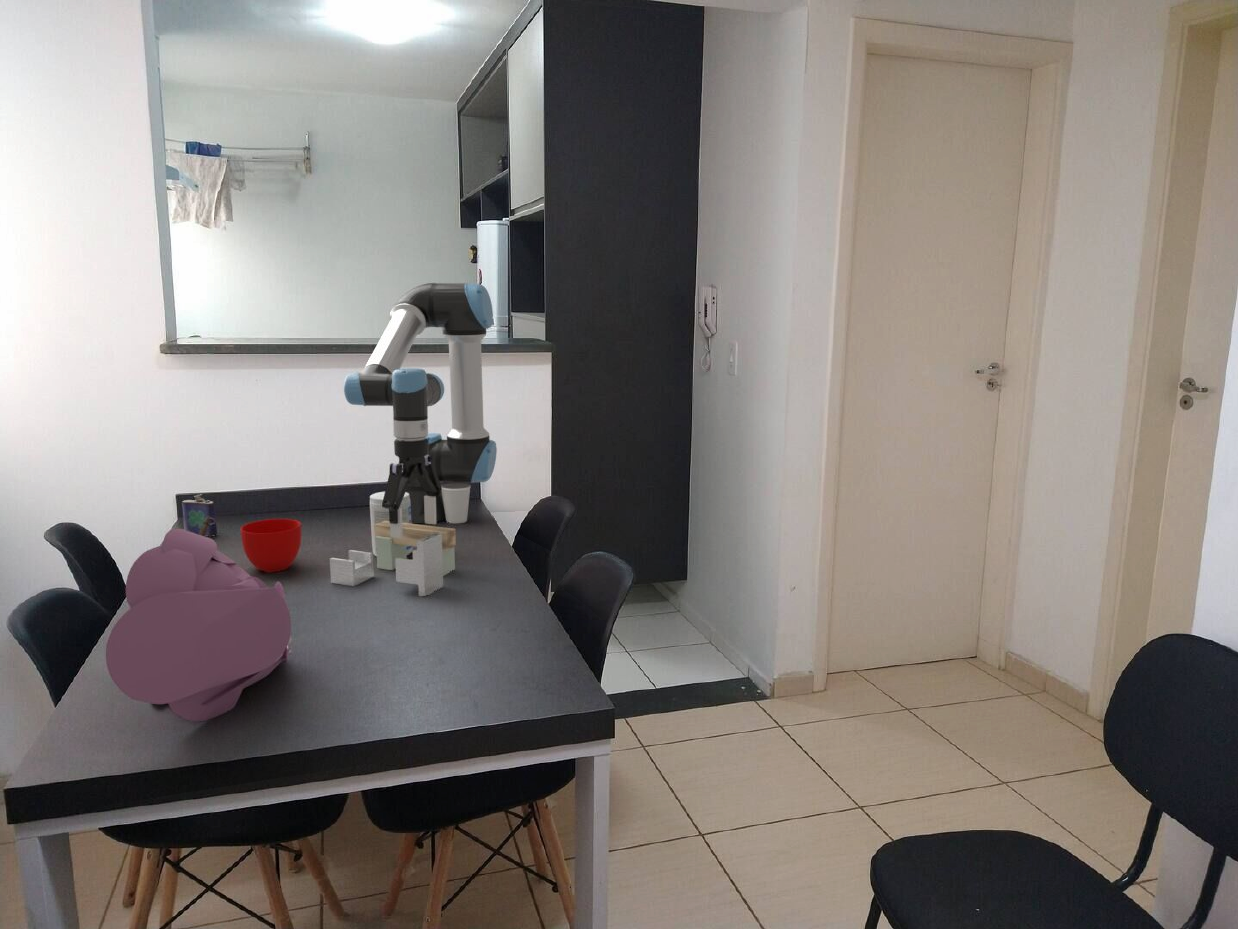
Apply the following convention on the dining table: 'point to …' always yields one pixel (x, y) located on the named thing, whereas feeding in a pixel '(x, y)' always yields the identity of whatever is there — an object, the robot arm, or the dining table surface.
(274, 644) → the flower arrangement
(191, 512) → the flask
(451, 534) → the rail
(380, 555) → the rack
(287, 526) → the ceramic cup
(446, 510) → the dixie cup
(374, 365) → the robot arm
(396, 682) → the dining table surface
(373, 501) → the supplement tub
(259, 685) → the dining table surface
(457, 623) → the dining table surface
